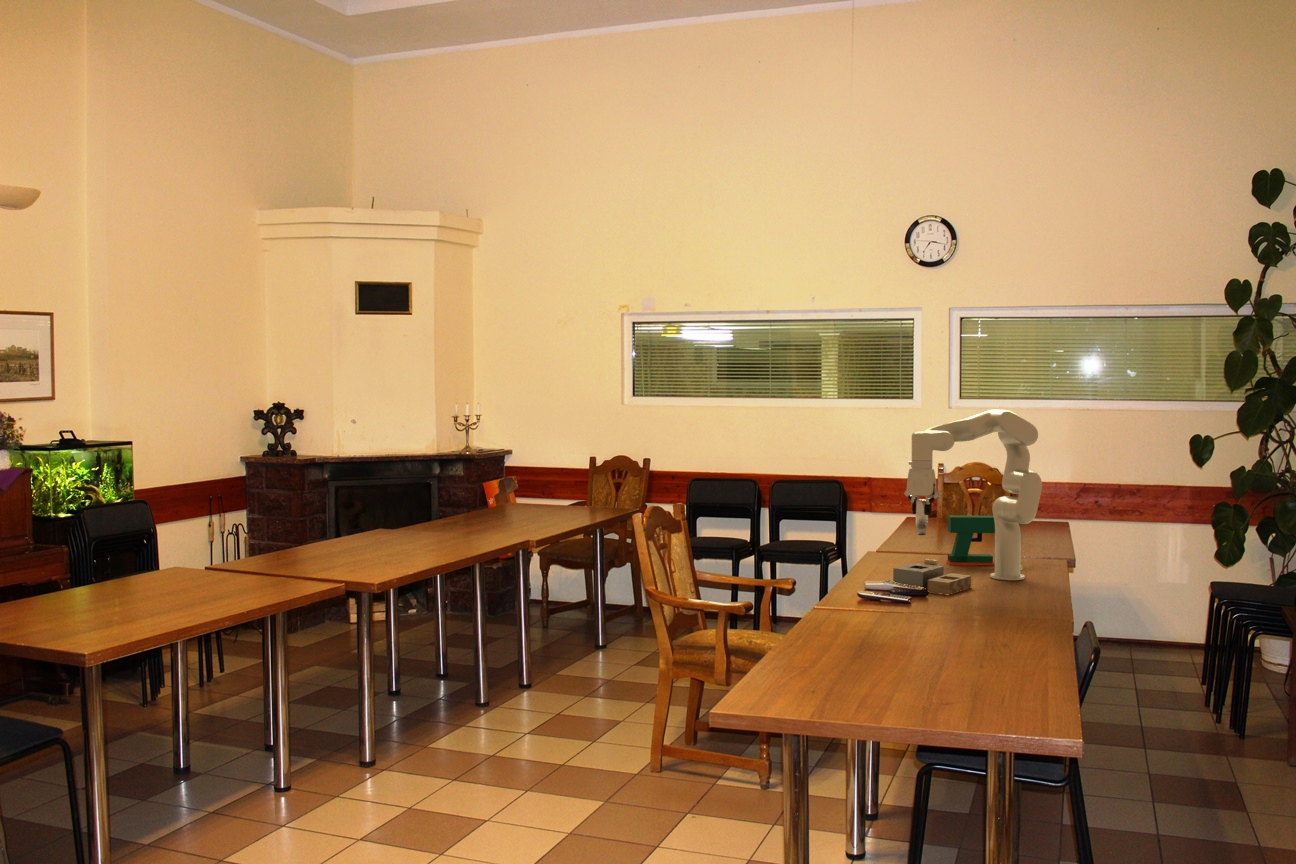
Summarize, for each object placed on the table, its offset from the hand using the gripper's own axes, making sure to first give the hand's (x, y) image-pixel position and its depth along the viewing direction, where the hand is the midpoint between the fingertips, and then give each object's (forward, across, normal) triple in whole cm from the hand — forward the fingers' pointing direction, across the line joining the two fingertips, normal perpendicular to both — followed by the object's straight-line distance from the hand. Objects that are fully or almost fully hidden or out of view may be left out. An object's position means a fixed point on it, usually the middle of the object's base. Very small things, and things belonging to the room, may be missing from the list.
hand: (921, 513), depth 394 cm
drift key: (+26, -1, +7) cm, 27 cm away
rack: (+27, +11, 0) cm, 29 cm away
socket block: (+27, -1, 0) cm, 27 cm away
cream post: (+8, 0, 0) cm, 8 cm away
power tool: (+28, -4, +62) cm, 68 cm away
